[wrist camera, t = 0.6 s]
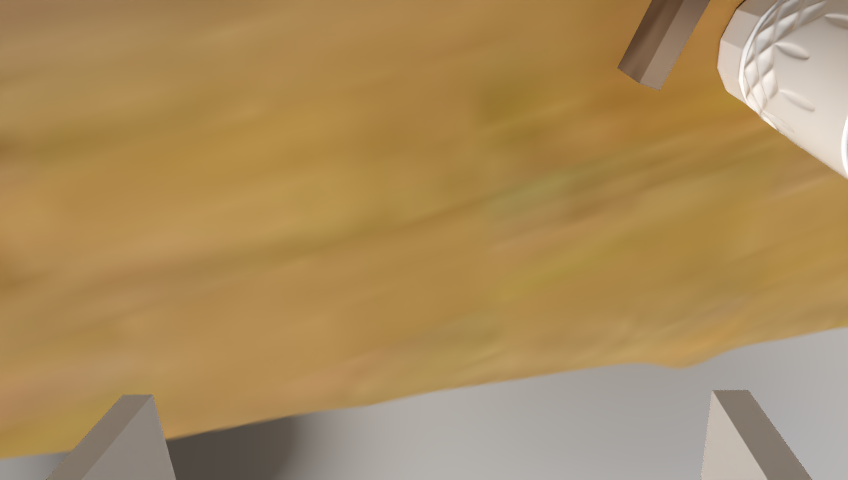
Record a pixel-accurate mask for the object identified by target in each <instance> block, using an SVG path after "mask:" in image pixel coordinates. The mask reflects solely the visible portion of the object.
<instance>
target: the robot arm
mask: <svg viewBox="0 0 848 480" xmlns="http://www.w3.org/2000/svg"><path fill="white" fill-rule="evenodd" d="M46 480H176V479H175V475H174V471H173V467H172V464H171V460H170V457H169V453H168V449H167V445H166V442H165V438H164V434H163V431H162V427H161V423H160V420H159V416H158V412H157V409H156V405H155V401H154V398H153V395H122V397H121V398H120V399H119V400H118V401H117V402H116V403H115V404H114V405H113V406H112V408H111V409H110V410H109V411H108V412H107V413H106V414H105V415H104V416H103V417H102V419H101V420H100V421H99V422H98V423H97V424H96V425H95V426H94V427H93V428H92V430H91V431H90V432H89V433H88V434H87V435H86V436H85V437H84V438H83V439H82V441H81V442H80V443H79V444H78V445H77V446H76V447H75V448H74V449H73V450H72V452H71V453H70V454H69V455H68V456H67V457H66V458H65V459H64V460H63V461H62V463H61V464H60V465H59V466H58V467H57V468H56V469H55V470H54V471H53V472H52V474H51V475H50V476H49V477H48V478H47V479H46ZM701 480H812V479H811V477H810V476H809V474H808V473H807V472H806V470H805V469H804V467H803V466H802V465H801V463H800V462H799V460H798V459H797V458H796V456H795V455H794V454H793V452H792V451H791V449H790V448H789V447H788V445H787V444H786V442H785V441H784V439H782V437H781V435H780V434H779V432H778V431H777V430H776V429H775V427H774V426H773V424H772V423H771V421H770V420H769V419H768V417H767V416H766V414H765V413H764V411H763V410H762V409H761V407H760V406H759V404H758V403H757V402H756V400H755V399H754V398H753V396H752V395H751V393H750V392H749V391H748V390H724V391H723V390H720V391H719V390H715V391H714V390H713V391H712V397H711V404H710V413H709V420H708V428H707V436H706V443H705V452H704V459H703V467H702V475H701Z"/></svg>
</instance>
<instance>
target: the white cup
mask: <svg viewBox="0 0 848 480" xmlns="http://www.w3.org/2000/svg"><path fill="white" fill-rule="evenodd" d="M717 69H718V71H719V74H720V76H721V79H722V82H723V84H724V87H725V89H726V91H727V92H729V93H730V94H732V95H733V96H735V97H736V98H738V99H739V100H741V101H742V102H744V103H745V104H747V105H748V106H749V107H750V108H751V109H753V110H754V111H755V112H757V114H758V115H759V116H760V118H761V119H763V120H764V121H766V122H767V123H768V124H770V125H771V126H772V127H773V128H775V129H776V130H777V131H778V132H780V133H782V134H783V135H785V136H786V137H787V138H788V139H790V140H791V141H792V142H793V143H795V144H796V145H797V146H799V147H801V148H802V149H804V150H805V151H807V152H808V153H810V154H811V155H813V156H814V157H816V158H817V159H818V160H820V161H821V162H823V163H824V164H826V165H827V166H828V167H830V168H831V169H833V170H834V171H835V172H837V173H838V174H840V175H841V176H843V177H844V178H846V179H847V180H848V0H746V1H745V2H744V3H742V4H741V5H740V6H739V7H738V8H737V9H736V11H735V13H734V15H733V17H732V18H731V20H730V22H729V24H728V26H727V28H726V30H725V32H724V33H723V35H722V37H721V40H720V48H719V56H718V65H717Z"/></svg>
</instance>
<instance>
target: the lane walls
mask: <svg viewBox="0 0 848 480" xmlns="http://www.w3.org/2000/svg"><path fill="white" fill-rule="evenodd" d="M709 1H710V0H652V2H651V4H650V6H649V8H648V10H647V12H646V14H645V16H644V18H643V20H642V22H641V24H640V26H639V28H638V30H637V31H636V33H635V35H634V37H633V39H632V41H631V43H630V45H629V47H628V49H627V51H626V53H625V55H624V57H623V59H622V61H621V63H620V64H619V66H618V69H620V70H621V71H623V72H624V73H625V74H627V75H628V76H630V77H631V78H632V79H634V80H635V81H637V82H638V83H640V84H642V85H645V86H648V87H651V88H654V89H656V90H659V91H660V89H661V87H662V85H663V84H664V82H665V80H666V78H667V76H668V75H669V73H670V71H671V69H672V67H673V66H674V64H675V62H676V60H677V59H678V57H679V55H680V53H681V51H682V50H683V48H684V46H685V44H686V42H687V41H688V39H689V37H690V35H691V34H692V32H693V30H694V28H695V26H696V25H697V23H698V21H699V19H700V17H701V16H702V14H703V12H704V10H705V9H706V7H707V5H708V3H709Z"/></svg>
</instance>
